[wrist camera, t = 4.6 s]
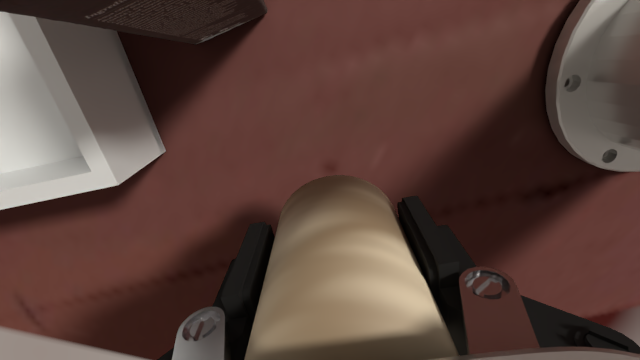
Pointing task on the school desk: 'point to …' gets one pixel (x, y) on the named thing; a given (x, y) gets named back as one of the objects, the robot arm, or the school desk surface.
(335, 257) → the beige piece
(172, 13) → the box
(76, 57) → the tote
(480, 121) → the school desk surface
